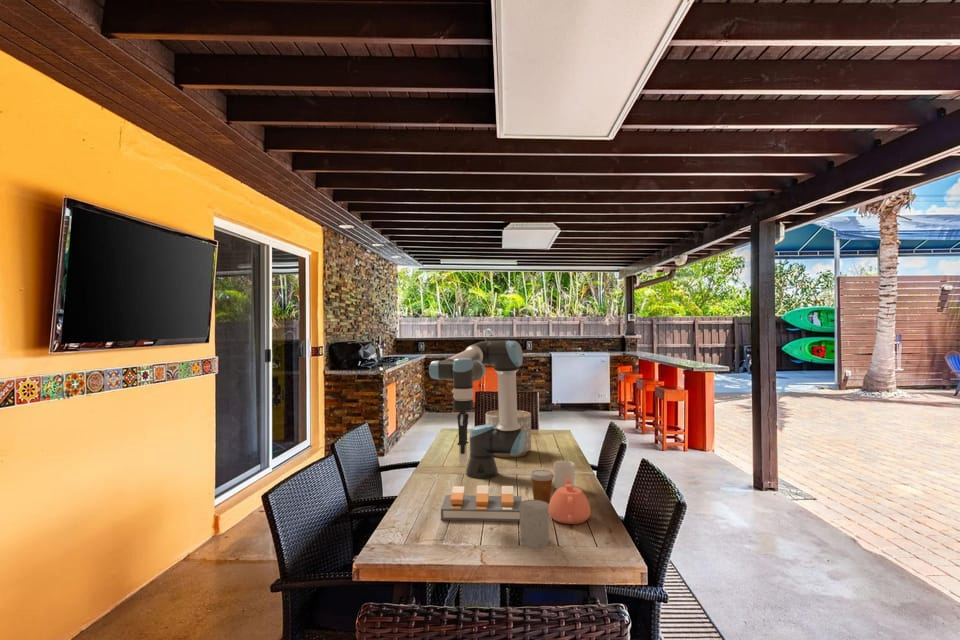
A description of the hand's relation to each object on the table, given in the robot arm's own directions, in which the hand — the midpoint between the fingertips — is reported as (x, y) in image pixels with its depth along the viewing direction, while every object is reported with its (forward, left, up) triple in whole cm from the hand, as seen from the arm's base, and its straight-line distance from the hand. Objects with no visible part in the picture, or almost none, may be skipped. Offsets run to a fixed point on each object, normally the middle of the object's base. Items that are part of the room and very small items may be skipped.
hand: (463, 461), depth 198 cm
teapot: (+28, +28, -20) cm, 45 cm away
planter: (-57, +81, -20) cm, 101 cm away
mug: (+4, +55, -20) cm, 59 cm away
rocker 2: (+3, +7, -14) cm, 16 cm away
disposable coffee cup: (+10, +33, -20) cm, 40 cm away
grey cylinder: (+34, +2, -20) cm, 40 cm away
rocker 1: (-3, 0, -14) cm, 14 cm away
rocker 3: (+10, +14, -14) cm, 22 cm away
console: (+3, +7, -20) cm, 22 cm away
